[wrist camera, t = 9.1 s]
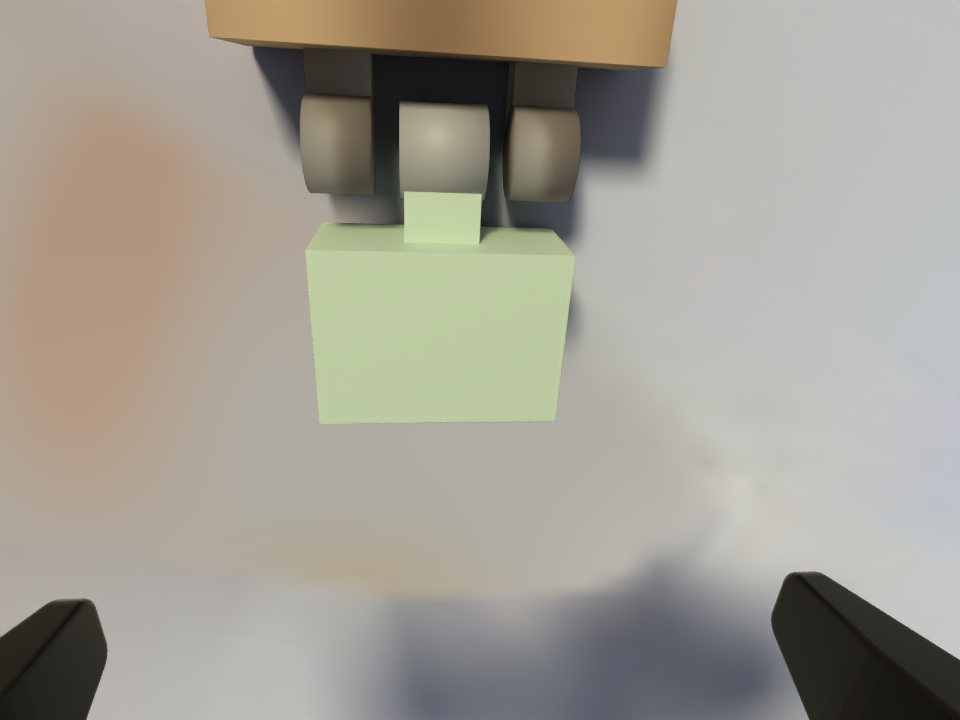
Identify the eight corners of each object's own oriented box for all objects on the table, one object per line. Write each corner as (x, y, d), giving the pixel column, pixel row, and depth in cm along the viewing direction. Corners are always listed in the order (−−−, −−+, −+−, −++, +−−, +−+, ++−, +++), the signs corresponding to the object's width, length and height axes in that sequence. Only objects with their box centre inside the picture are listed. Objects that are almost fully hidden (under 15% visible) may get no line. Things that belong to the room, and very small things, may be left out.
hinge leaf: (563, 107, 16) (592, 113, 14) (536, 374, 20) (555, 421, 17) (314, 94, 16) (292, 98, 13) (333, 375, 19) (319, 423, 17)
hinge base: (642, -61, 15) (693, -95, 12) (606, 197, 17) (640, 217, 15) (232, -100, 14) (187, -145, 11) (260, 183, 16) (229, 202, 14)
